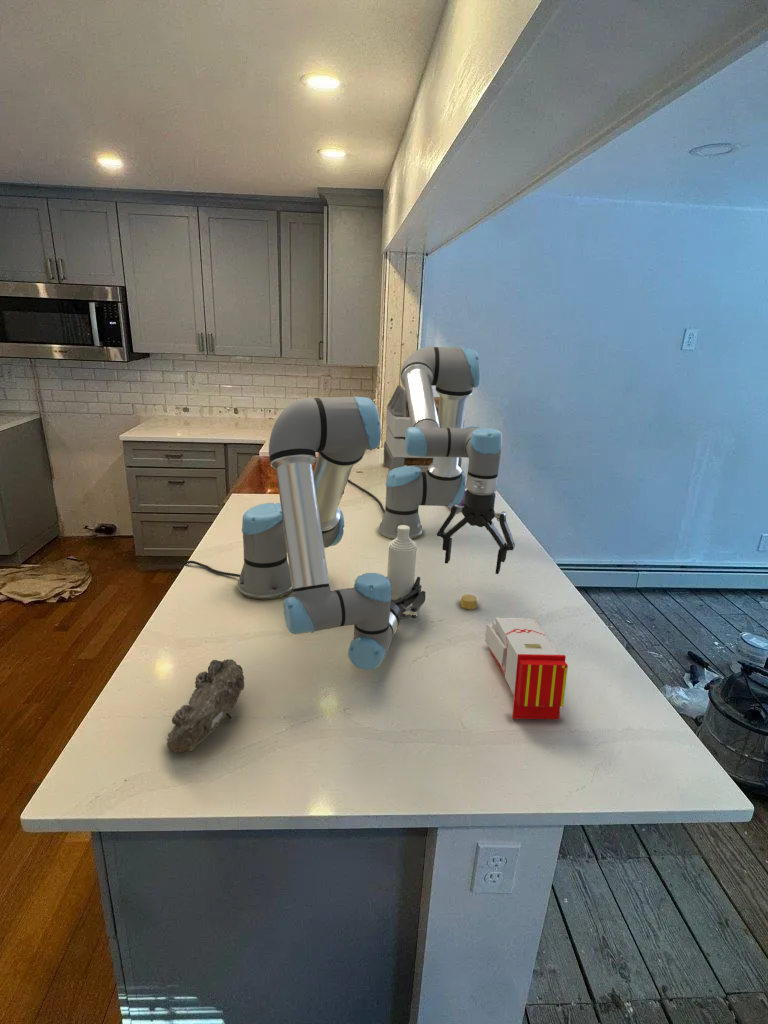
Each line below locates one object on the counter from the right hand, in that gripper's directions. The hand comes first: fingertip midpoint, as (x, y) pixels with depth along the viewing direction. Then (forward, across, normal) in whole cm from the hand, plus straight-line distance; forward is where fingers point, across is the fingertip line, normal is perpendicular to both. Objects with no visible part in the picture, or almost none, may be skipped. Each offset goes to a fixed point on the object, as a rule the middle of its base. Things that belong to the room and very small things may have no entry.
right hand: (472, 566), depth 150 cm
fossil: (+10, -34, -65) cm, 74 cm away
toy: (+10, +18, -28) cm, 35 cm away
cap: (+9, 0, -1) cm, 9 cm away
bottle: (+11, -16, -11) cm, 22 cm away
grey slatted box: (+15, -52, +118) cm, 129 cm away
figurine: (+13, -22, +76) cm, 80 cm away
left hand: (+5, -17, -6) cm, 18 cm away
